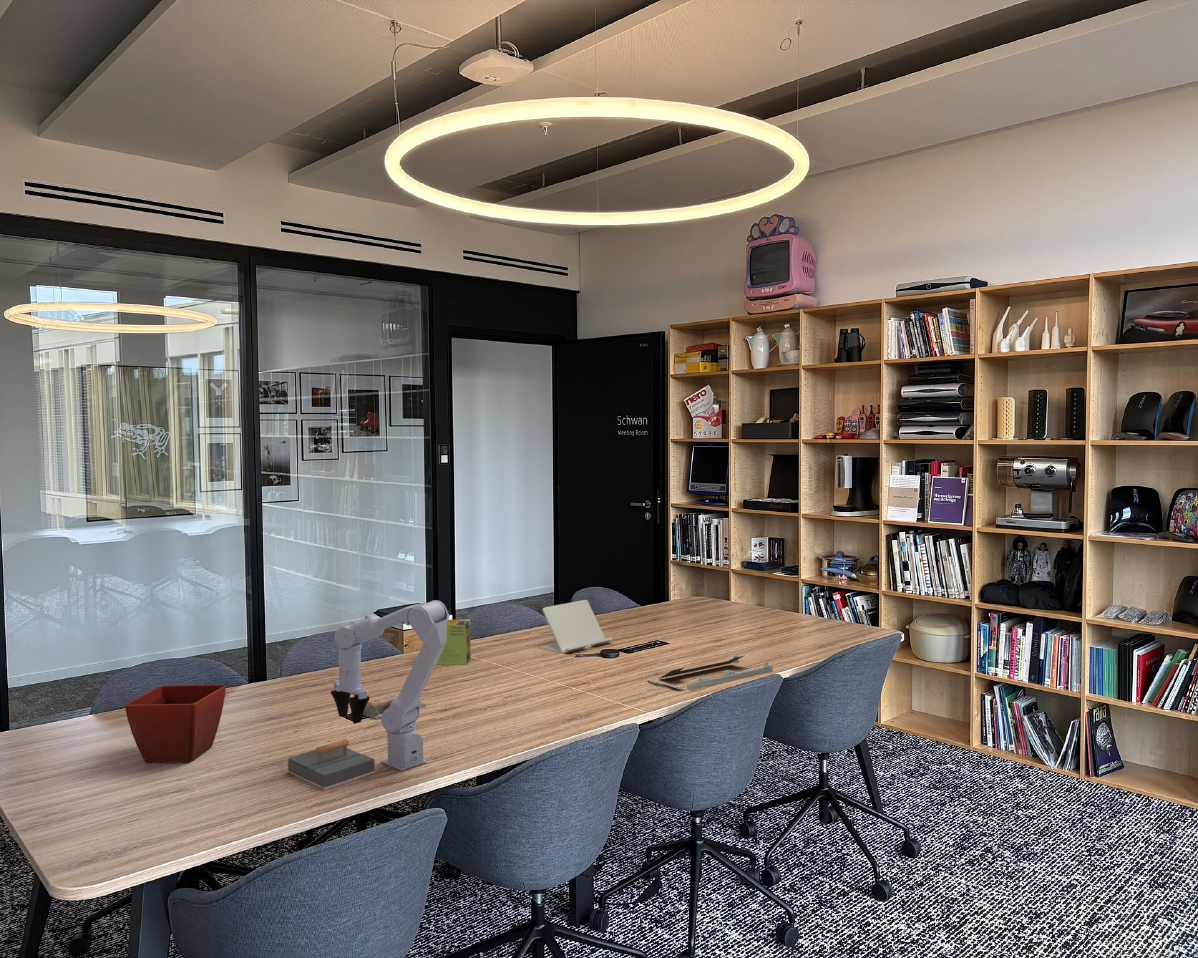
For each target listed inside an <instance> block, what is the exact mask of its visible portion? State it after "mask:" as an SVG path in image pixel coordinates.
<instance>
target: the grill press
mask: <svg viewBox="0 0 1198 958" xmlns="http://www.w3.org/2000/svg"><path fill="white" fill-rule="evenodd" d="M349 744H350V743H349V739H347V738H345V739H341V740H338V741H335V742H331V743H328V744H324V745H321V746H318V747H316V748H315V749H314V750H311V751H308V752H303V753H301V754H297V755H294V756H290V757H288V760H289V761H291V762H293V763H295V764H297V765H300V766H302V767H304V768H306V769H308V770H310V771H313V769H316V768H319V767H323V766H326V765H329V764H332V763H335V762H338V761H342V760H345V759H348V758H351V757H354V756H358V755H361V753H360V752H358V751H356V750H353V749H350V748H348V746H349ZM288 760H287V761H288Z"/></svg>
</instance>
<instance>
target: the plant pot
mask: <svg viewBox="0 0 1198 958" xmlns="http://www.w3.org/2000/svg"><path fill="white" fill-rule="evenodd" d="M226 689H227V685H226V684H189V685H186V684H185V685H180V684H179V685H162V686H158V687H157V688H155V689H152V690H150V691H149V692H146V693H144V694H142V695H140V696H138V697H137V698H134V699H132V700H130V701H128V702H126V703H125V704H124V709H125V714H126V717H127V722H128V725H129V728H130V731H131V735H132V737H133V740H134V742H135V744H136V747H137V749H138V751H139V753H140V755H141V757H142V759H143V761H144V763H147V764H148V763H153V764H154V763H190V762H192V761H194V760H195V759H197V758H198V757H200V756H201V755H202V754H204V753H206V752H207V751H208V750H210V749H211V748H212V747H213V744H214V741H215V739H216V736H217V732H218V729H219V726H220V721H221V718H222V712H223V709H224V705H225V704H224V702H225V698H226Z"/></svg>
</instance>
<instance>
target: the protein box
mask: <svg viewBox="0 0 1198 958" xmlns="http://www.w3.org/2000/svg"><path fill="white" fill-rule="evenodd" d="M471 646H472V643H471V619H469V618H468V619H448V622H447V642H446V645H445V647H444V649H443V651H442V654H441V656H440V658H439V660H438V662H437V664H436V666H463V665H464V666H466V665H467V664H468V663H469V662H470V660H471V659H472V647H471Z"/></svg>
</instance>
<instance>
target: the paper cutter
mask: <svg viewBox="0 0 1198 958" xmlns="http://www.w3.org/2000/svg"><path fill="white" fill-rule="evenodd" d="M745 656H746V655H739V656H738V654H737V655H735V654H734V655H733V658H731V659H729V660H727V661H726V660H725V661H723V662H717V663H711V664H707V665H703V666H698V667H697V666H696V667H692V668H688V669H685V667H683V668H682V667H681V668H675V669H672V670H671V671H669V672H667V673H665V674H663V675H661V677H659V678H658V680H657V679H653V678H648V677H647V680H648V681H649V682H652V683H654V684H660V685H667V686H669V687H672V688H675V689H677V690H681V691H692V690H696V689H701V688H705V687H710V686H714V685H719V684H723V683H724V684H725V683H727V682H728V683H729V682H731V681H733V682H734V681H737V680H740V679H745V678H749V677H755V676H759V675H762V674H763V675H764V674H766V673H767V674H768V673H772V672H773V666H772V665H770V664H768V661H765V664H764V665H762V667H759V668H755V669H750V670H746V671H745V670H744V671H741V672H735V671H732V670H729V669H727V670H724V671H723V676H718V677H713V678H712V677H710V676H709V677H708V676H704V677H700V678H698V679H699V680H698V681H695V682H692V683H691V682H690V683H687V684H686V685H687V686H686V688H682V687H679V686H673V685H670V684H668V683H664V682H661V681H659V679H664V678H669V677H674V676H679V675H684V674H688V673H694V672H697V671H702V670H709V669H712V668H717V667H720V666H721V667H722V666H726V665H730V664H738V663H739V660H740V659H741V658H743V657H745Z"/></svg>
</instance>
